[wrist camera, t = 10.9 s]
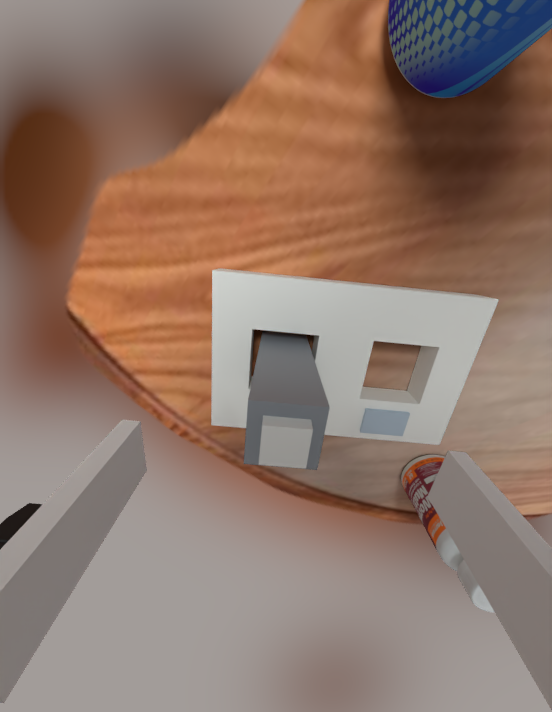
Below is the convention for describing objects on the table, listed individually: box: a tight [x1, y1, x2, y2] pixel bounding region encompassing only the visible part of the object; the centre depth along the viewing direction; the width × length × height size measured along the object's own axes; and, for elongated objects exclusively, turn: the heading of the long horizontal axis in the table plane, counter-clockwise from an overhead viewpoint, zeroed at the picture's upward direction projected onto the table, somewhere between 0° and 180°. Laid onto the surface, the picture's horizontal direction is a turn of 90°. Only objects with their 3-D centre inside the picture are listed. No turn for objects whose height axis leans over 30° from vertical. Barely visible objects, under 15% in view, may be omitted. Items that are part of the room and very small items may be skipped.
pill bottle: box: [401, 455, 494, 612], centre depth 24 cm, size 6×6×11 cm
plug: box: [244, 331, 330, 470], centre depth 19 cm, size 4×4×13 cm
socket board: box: [211, 268, 499, 445], centre depth 23 cm, size 14×22×3 cm, turn 84°
